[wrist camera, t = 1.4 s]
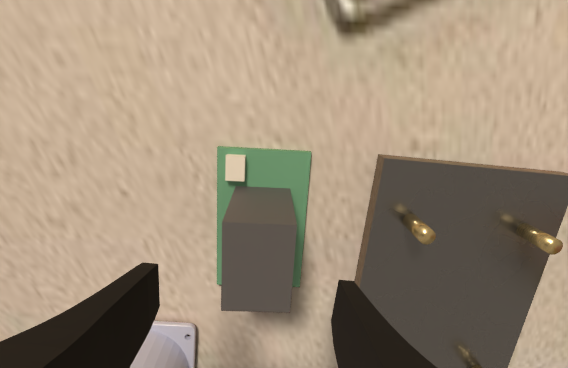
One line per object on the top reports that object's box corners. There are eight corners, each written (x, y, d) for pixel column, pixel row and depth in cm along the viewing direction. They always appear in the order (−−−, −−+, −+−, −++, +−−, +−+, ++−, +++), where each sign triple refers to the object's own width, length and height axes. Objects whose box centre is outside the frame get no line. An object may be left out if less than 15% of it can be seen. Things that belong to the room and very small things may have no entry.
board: (298, 282, 24) (308, 351, 18) (218, 279, 24) (198, 349, 17) (310, 150, 21) (326, 176, 15) (218, 145, 21) (195, 169, 14)
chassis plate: (482, 396, 27) (513, 441, 24) (334, 389, 27) (343, 435, 23) (562, 172, 22) (618, 187, 18) (378, 154, 21) (400, 167, 18)
